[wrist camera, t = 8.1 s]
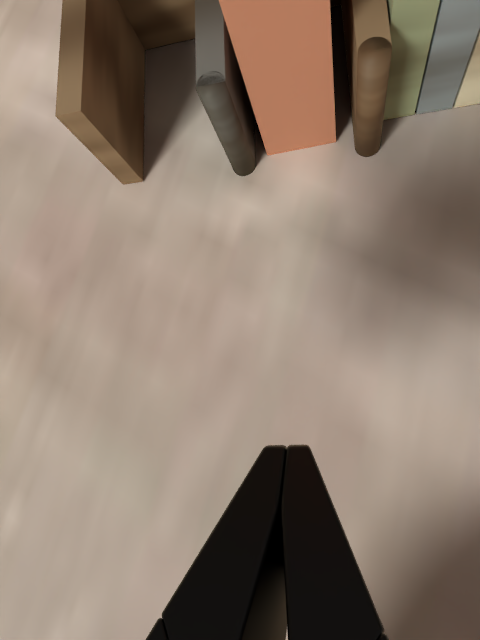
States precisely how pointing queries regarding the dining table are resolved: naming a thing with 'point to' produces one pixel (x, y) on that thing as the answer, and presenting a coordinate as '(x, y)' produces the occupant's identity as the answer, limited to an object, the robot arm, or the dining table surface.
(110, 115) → the book rack
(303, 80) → the book
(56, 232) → the dining table surface
